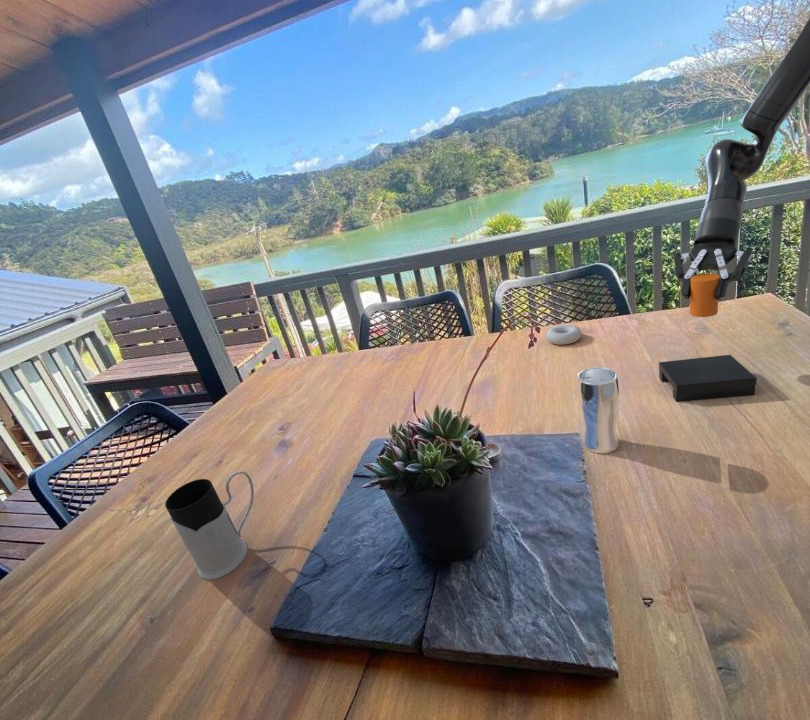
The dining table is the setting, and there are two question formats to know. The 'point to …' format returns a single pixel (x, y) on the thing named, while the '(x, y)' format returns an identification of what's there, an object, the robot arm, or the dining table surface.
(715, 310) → the candle
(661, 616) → the dining table surface
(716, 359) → the black display riser
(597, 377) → the silver metal tumbler
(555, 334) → the donut
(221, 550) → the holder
